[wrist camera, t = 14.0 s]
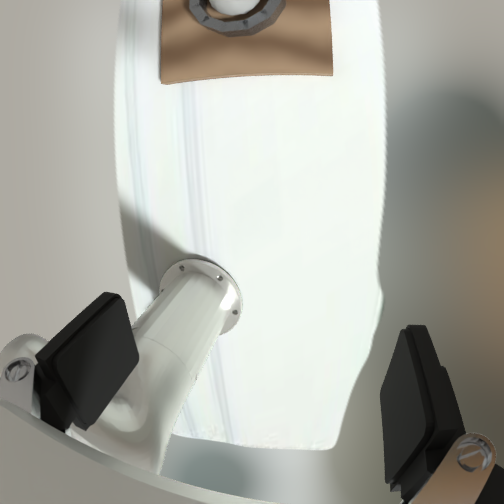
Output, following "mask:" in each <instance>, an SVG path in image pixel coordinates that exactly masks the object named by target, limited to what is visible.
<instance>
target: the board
mask: <svg viewBox="0 0 504 504" xmlns="http://www.w3.org/2000/svg"><path fill="white" fill-rule="evenodd" d="M189 1H190V0H163V6H162V32H161V84H165V85H168V84H175V83H182V82H189V81H197V80H206V79H216V78H227V77H241V76H262V75H317V76H333V54H332V33H331V17H330V4H329V0H286V7H285V8H284V10H283V11H282V13H281V14H280V16H279V17H278V19H277V20H276V22H275V23H274V24H273V25H271V26H269V27H267V28H265V29H264V30H262V31H260V32H258V33H256V34H255V35H252V36H239V37H226V36H224V35H221V34H218V33H216V32H213V31H210V30H208V29H207V28H205V27H204V26H203V25H201V24H200V23H199V21H198V20H197V18H196V17H195V16H194V14H193V13H192V12H191V10H190V9H189ZM268 1H269V0H260V1H259V3H258V4H257V5H256V6H255V7H254V8H253V9H251V10H250V11H249V12H248V13H247V14H239V15H234V16H231V15H226V14H221V13H220V12H218V11H217V10H216V9H214V8H213V7H212V6H211V3H210V1H209V0H207V11H208V13H209V14H210V15H211V17H212V18H215V19H217V20H220V21H223V22H230V21H240V20H246V19H247V18H249V17H251V16H253V15H254V14H256V13H258V12H260V11H262V10H263V8H264V7H265V5H266V4H267V2H268Z"/></svg>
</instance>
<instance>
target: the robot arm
mask: <svg viewBox="0 0 504 504" xmlns="http://www.w3.org/2000/svg"><path fill="white" fill-rule="evenodd" d="M159 290H160V295H159V296H158V297H157V298H156V299H155V300H154V302H153V303H152V304H151V305H150V306H149V307H148V308H147V309H146V310H145V312H144V313H143V314H142V315H141V316H140V317H139V318H138V319H137V321H136V322H135V323H134V324H133V325H132V326H131V324H130V321H129V317H128V313H127V309H126V305H125V302H124V300H123V299H122V298H121V296H120V295H119V294H115V293H110V292H104V293H102V294H101V295H100V296H99V297H98V298H97V299H96V300H94V301H93V302H92V303H91V304H90V305H89V306H88V307H86V308H85V309H84V310H83V311H82V312H81V313H80V314H79V315H77V317H75V318H74V319H73V320H72V321H71V322H70V323H69V324H67V325H66V326H65V327H64V328H63V329H62V330H61V331H60V332H59V333H58V334H57V335H56V336H55V337H53V338H52V339H51V340H50V341H47V340H46V339H44V338H43V337H41V336H39V335H36V334H23V335H20V336H18V337H16V338H15V339H13V340H12V341H11V342H9V343H8V344H7V345H6V346H5V347H4V349H3V350H2V351H1V353H0V504H282V503H274V502H267V501H261V500H255V499H249V498H244V497H238V496H233V495H228V494H224V493H220V492H215V491H211V490H207V489H204V488H200V487H196V486H192V485H188V484H185V483H182V482H179V481H175V480H172V479H169V478H166V477H163V476H160V472H161V469H162V466H163V462H164V458H165V454H166V450H167V447H168V443H169V439H170V436H171V433H172V431H173V428H174V425H175V423H176V421H177V418H178V416H179V414H180V412H181V409H182V407H183V405H184V403H185V401H186V399H187V397H188V395H189V393H190V391H191V389H192V387H193V385H194V384H195V382H196V380H197V378H198V376H199V374H200V372H201V370H202V368H203V366H204V364H205V362H206V360H207V358H208V356H209V354H210V352H211V350H212V348H213V346H214V344H215V342H216V340H217V338H218V336H219V335H222V334H225V333H227V332H229V331H230V330H231V329H233V328H234V326H235V325H236V324H237V322H238V320H239V318H240V316H241V313H242V306H243V304H242V297H241V293H240V290H239V288H238V287H237V285H236V283H235V282H234V280H233V279H232V278H231V277H230V276H229V275H228V274H227V273H226V272H225V271H224V270H223V269H221V268H219V267H218V266H216V265H214V264H212V263H210V262H207V261H203V260H199V259H187V260H182V261H179V262H177V263H175V264H174V265H172V266H171V267H170V268H169V269H168V270H167V271H166V272H165V274H164V275H163V277H162V279H161V282H160V288H159ZM380 402H381V413H382V426H383V441H384V462H385V482H386V483H387V484H388V483H390V491H391V492H394V491H401V498H402V499H403V501H402V502H401V503H400V504H504V469H503V468H502V467H500V466H498V465H497V464H495V461H496V450H495V447H494V445H493V444H492V442H491V441H490V440H489V439H488V438H487V437H485V436H484V435H481V434H478V433H468V434H466V432H465V428H464V425H463V421H462V417H461V414H460V410H459V407H458V404H457V400H456V397H455V394H454V391H453V388H452V385H451V382H450V379H449V376H448V373H447V370H446V368H445V367H443V366H441V365H440V363H439V360H438V357H437V354H436V352H435V348H434V346H433V343H432V340H431V338H430V335H429V333H428V330H427V328H426V326H425V325H408V326H407V327H406V329H402V330H401V331H400V334H399V337H398V341H397V344H396V347H395V350H394V353H393V356H392V359H391V362H390V365H389V368H388V371H387V374H386V376H385V380H384V382H383V385H382V388H381V392H380Z"/></svg>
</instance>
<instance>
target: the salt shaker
mask: <svg viewBox="0 0 504 504" xmlns="http://www.w3.org/2000/svg"><path fill="white" fill-rule="evenodd" d="M209 1H210V3H211V6H212V7H213V8H214V9H216V10H217V11H218V12H220V13H221V14H226V15H231V16H234V15H239V14H247V13H248V12H249V11H250V10H251V9H253V8H254V7H255V6H256V5H257V4H258V3H259V1H260V0H209Z"/></svg>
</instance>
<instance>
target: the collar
mask: <svg viewBox="0 0 504 504" xmlns="http://www.w3.org/2000/svg"><path fill="white" fill-rule="evenodd" d="M285 7H286V0H269V1H268V2H267V4H266V5H265V7H264V8H263V10H262V11H260V12H258V13H256V14H254V15H253V16H251V17H249V18H247V19H246V20H240V21H230V22H223V21H220V20H217V19H215V18H212V17H211V15H210V14H209V13H208V11H207V0H190V1H189V9H190V10H191V12H192V13H193V14H194V16H195V17H196V18H197V20H198V21H199V23H200V24H201V25H203V26H204V27H205V28H207V29H208V30H210V31H213V32H216V33H218V34H221V35H224V36H226V37H239V36H252V35H255V34H256V33H258V32H260V31H262V30H264V29H265V28H267V27H269V26H271V25H273V24H274V23H275V22H276V20H277V19H278V17H279V16H280V14H281V13H282V11H283V10H284V8H285Z"/></svg>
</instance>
